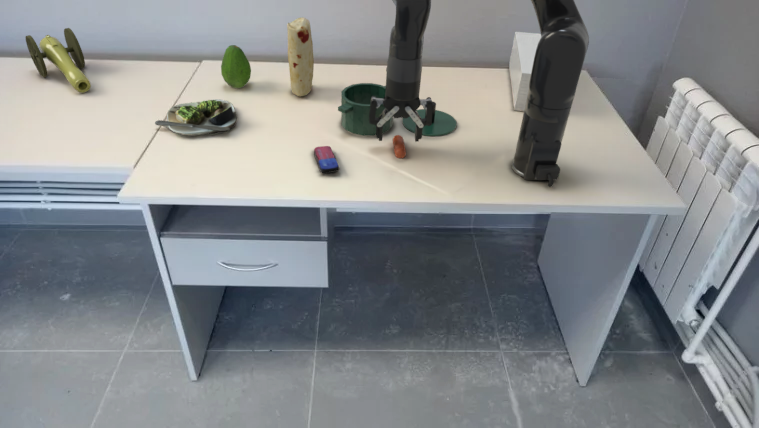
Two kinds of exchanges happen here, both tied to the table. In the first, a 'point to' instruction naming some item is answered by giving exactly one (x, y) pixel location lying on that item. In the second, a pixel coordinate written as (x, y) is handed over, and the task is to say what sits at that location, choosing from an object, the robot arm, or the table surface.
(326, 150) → the eraser
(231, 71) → the avocado
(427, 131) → the lid
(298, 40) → the food model
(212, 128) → the salad plate
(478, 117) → the table surface
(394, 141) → the hot dog
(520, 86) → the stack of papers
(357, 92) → the pot
